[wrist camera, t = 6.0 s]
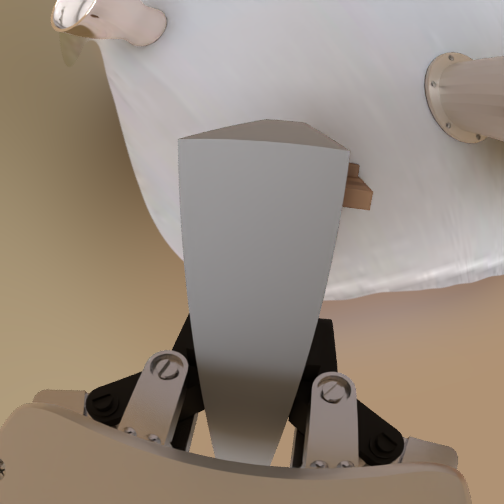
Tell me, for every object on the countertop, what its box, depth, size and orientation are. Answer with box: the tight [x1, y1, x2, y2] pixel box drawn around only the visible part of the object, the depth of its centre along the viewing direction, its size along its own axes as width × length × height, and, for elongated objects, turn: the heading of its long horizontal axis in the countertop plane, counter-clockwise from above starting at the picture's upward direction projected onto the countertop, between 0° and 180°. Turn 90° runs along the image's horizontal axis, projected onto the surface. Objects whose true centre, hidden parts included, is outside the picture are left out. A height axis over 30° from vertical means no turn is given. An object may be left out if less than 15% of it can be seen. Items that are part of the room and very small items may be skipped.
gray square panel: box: [178, 119, 350, 466], centre depth 13 cm, size 2×14×14 cm, turn 177°
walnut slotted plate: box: [342, 163, 373, 210], centre depth 30 cm, size 18×5×7 cm, turn 88°
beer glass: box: [51, 0, 167, 46], centre depth 18 cm, size 7×7×15 cm
